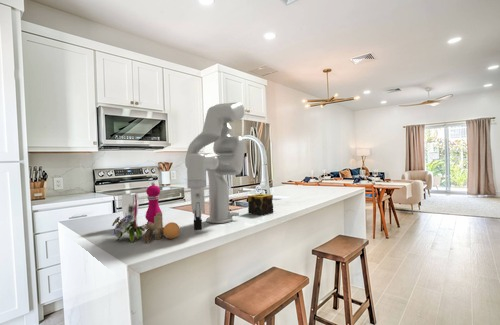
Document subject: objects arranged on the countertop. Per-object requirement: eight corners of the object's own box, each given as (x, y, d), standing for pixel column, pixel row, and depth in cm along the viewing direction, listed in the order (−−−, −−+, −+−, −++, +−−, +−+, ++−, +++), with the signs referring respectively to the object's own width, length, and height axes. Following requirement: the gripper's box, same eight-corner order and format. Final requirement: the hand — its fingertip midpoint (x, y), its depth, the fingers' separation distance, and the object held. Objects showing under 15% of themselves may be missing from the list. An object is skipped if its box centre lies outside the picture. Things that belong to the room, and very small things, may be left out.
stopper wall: (153, 232, 108) (153, 224, 108) (148, 242, 94) (148, 234, 94) (149, 232, 108) (149, 225, 108) (144, 243, 94) (143, 234, 94)
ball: (157, 231, 99) (170, 230, 104) (164, 242, 95) (177, 241, 100) (165, 219, 98) (177, 219, 102) (172, 230, 94) (185, 229, 99)
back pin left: (161, 237, 100) (161, 215, 100) (161, 239, 98) (160, 216, 98) (155, 238, 100) (154, 215, 100) (154, 239, 97) (153, 217, 97)
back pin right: (163, 233, 106) (162, 212, 106) (162, 234, 104) (162, 213, 104) (156, 233, 106) (156, 212, 106) (156, 235, 103) (155, 214, 103)
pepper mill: (165, 223, 123) (164, 181, 123) (158, 227, 116) (157, 182, 116) (150, 223, 124) (149, 181, 124) (142, 227, 117) (141, 182, 117)
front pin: (170, 229, 104) (149, 221, 102) (169, 231, 102) (148, 222, 100) (167, 234, 104) (146, 226, 102) (166, 236, 101) (145, 228, 100)
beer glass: (135, 224, 122) (134, 192, 122) (141, 227, 118) (140, 193, 117) (119, 227, 118) (118, 194, 118) (125, 230, 113) (124, 195, 113)
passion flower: (118, 255, 98) (106, 227, 101) (146, 242, 105) (134, 217, 109) (123, 244, 90) (110, 214, 94) (153, 231, 98) (140, 204, 101)
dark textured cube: (273, 213, 143) (273, 194, 143) (261, 216, 136) (261, 196, 136) (259, 210, 150) (259, 193, 150) (247, 213, 143) (247, 195, 143)
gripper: (207, 185, 99) (208, 233, 99) (205, 182, 113) (206, 224, 113) (187, 186, 97) (188, 235, 97) (187, 183, 112) (188, 225, 112)
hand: (197, 229), depth 105 cm, fingers closed
